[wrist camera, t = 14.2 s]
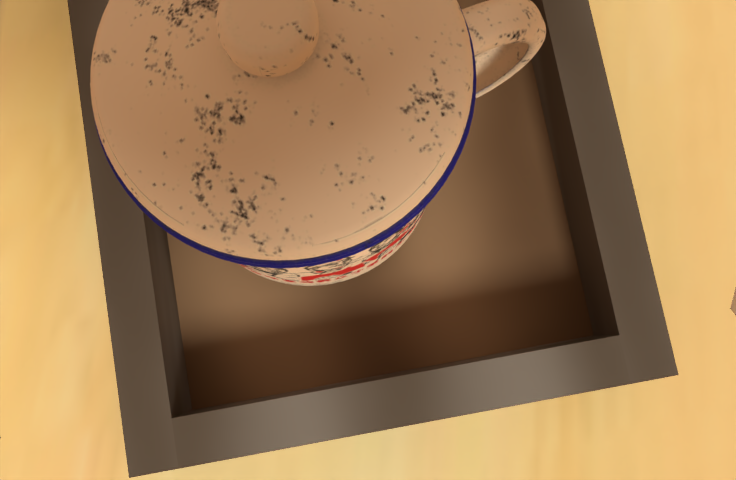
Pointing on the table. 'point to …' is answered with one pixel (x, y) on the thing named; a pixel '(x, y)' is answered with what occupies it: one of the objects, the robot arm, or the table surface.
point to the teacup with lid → (297, 119)
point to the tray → (397, 285)
